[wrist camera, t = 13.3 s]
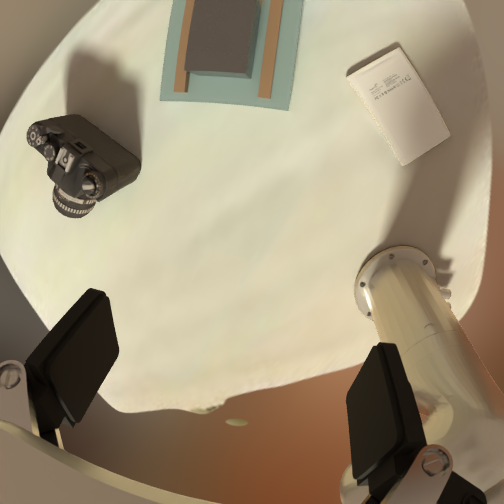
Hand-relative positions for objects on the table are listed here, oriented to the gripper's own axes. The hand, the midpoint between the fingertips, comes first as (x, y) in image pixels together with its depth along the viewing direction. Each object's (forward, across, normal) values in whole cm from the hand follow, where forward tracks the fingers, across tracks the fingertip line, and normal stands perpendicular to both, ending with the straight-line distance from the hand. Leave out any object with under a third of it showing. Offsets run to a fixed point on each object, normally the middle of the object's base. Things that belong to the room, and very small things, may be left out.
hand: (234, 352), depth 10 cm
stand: (+28, +7, -16) cm, 33 cm away
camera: (+28, +25, +1) cm, 37 cm away
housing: (+25, +7, -16) cm, 30 cm away
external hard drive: (+29, -14, -12) cm, 34 cm away
